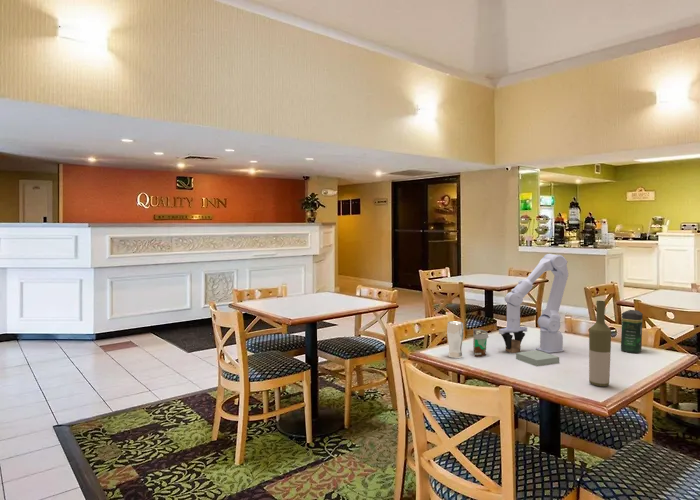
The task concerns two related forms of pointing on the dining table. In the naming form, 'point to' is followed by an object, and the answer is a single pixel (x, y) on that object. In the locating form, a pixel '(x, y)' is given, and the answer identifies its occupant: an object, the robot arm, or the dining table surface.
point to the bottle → (599, 349)
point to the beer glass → (455, 338)
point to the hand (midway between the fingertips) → (512, 348)
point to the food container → (479, 342)
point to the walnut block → (514, 346)
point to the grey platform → (537, 358)
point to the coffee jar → (631, 331)
